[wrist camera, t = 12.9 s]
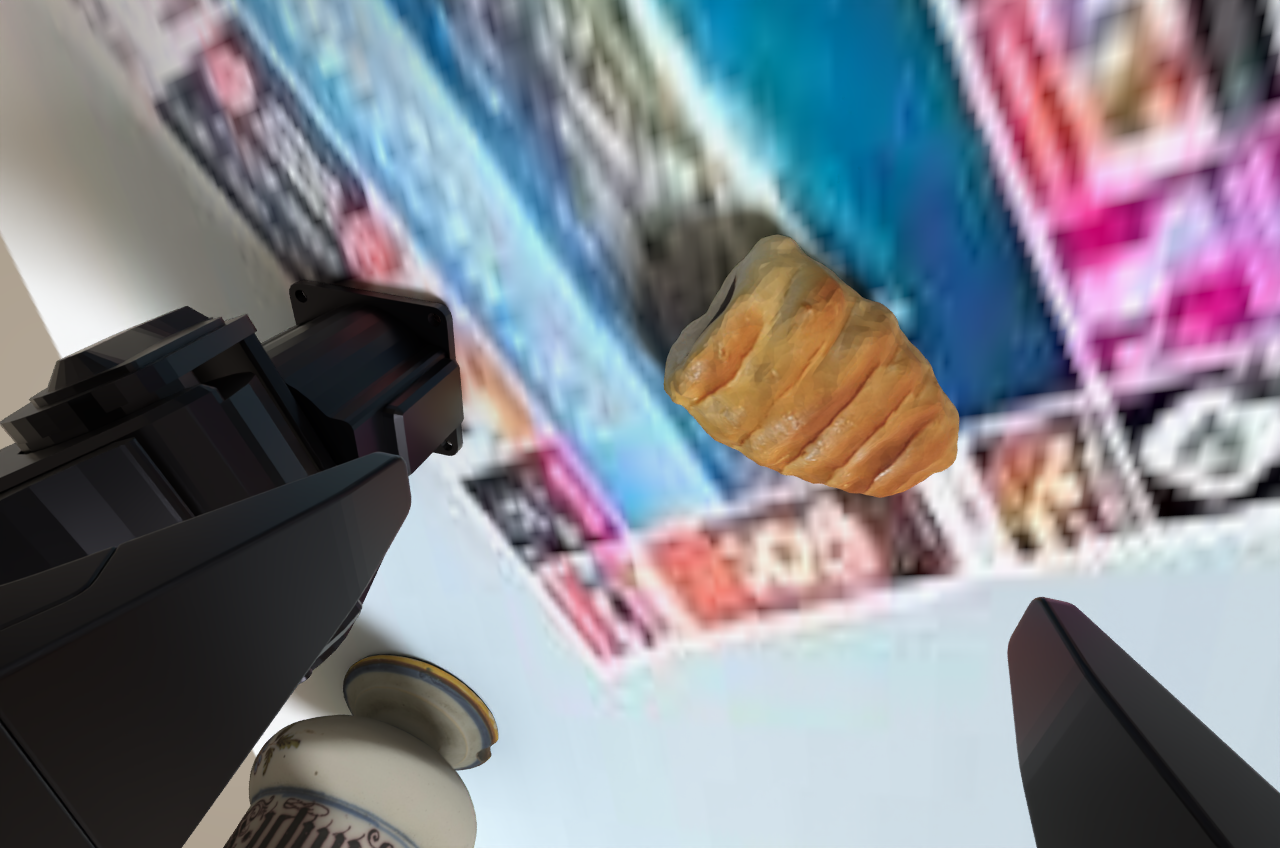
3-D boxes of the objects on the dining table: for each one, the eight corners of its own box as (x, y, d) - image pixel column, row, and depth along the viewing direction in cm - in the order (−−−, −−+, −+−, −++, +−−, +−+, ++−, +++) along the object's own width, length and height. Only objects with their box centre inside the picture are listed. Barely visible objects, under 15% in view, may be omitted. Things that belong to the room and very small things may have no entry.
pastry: (1008, 379, 20) (1043, 442, 17) (861, 507, 24) (868, 579, 20) (764, 209, 19) (753, 242, 16) (652, 370, 23) (625, 422, 20)
